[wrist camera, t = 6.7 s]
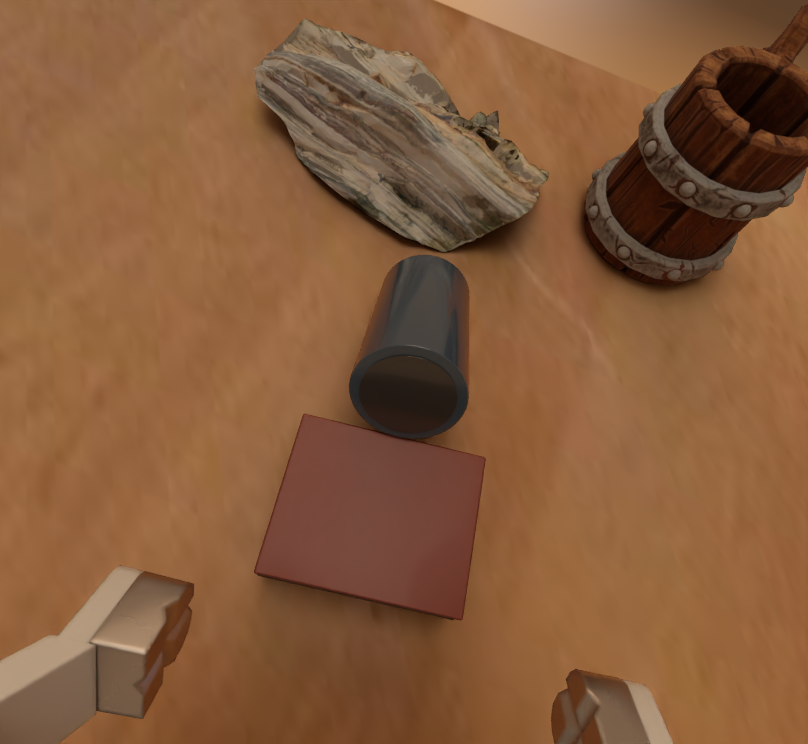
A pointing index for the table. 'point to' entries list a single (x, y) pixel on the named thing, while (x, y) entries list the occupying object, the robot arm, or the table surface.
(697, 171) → the mug
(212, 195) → the table surface
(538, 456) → the table surface
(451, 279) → the cup
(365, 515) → the notebooks
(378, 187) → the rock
